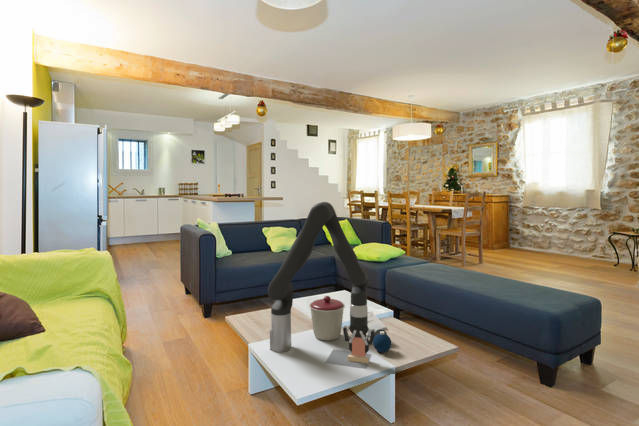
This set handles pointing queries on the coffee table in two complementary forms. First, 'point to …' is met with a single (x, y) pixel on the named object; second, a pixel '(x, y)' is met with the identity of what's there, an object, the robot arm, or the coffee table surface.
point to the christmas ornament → (382, 342)
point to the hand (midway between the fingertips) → (358, 351)
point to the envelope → (374, 321)
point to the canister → (327, 318)
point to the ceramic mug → (376, 330)
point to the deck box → (358, 346)
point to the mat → (348, 359)
